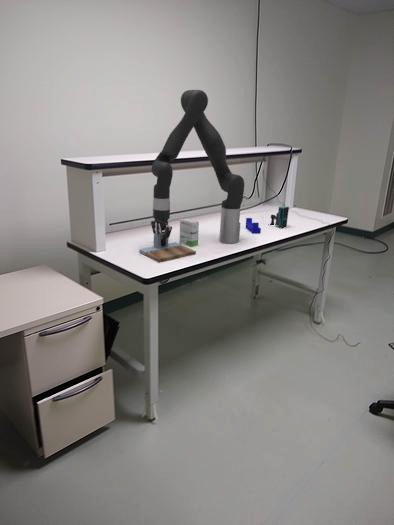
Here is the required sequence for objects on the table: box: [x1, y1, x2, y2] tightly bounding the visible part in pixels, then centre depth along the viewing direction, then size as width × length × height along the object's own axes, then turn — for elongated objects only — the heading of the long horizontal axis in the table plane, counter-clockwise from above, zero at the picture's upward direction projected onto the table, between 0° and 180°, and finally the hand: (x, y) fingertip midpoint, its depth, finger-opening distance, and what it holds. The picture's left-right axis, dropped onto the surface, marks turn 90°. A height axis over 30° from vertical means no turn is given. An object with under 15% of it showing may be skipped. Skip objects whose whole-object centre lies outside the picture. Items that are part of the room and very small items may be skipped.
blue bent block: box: [245, 217, 262, 235], centre depth 222 cm, size 12×4×6 cm, turn 12°
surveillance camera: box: [267, 206, 290, 229], centre depth 233 cm, size 6×12×10 cm
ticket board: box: [145, 244, 197, 264], centre depth 177 cm, size 20×10×2 cm, turn 130°
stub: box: [138, 233, 182, 256], centre depth 182 cm, size 20×5×8 cm, turn 130°
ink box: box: [179, 218, 200, 248], centre depth 193 cm, size 9×5×12 cm, turn 46°
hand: (161, 244), depth 183 cm, fingers closed on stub, 3 cm apart
